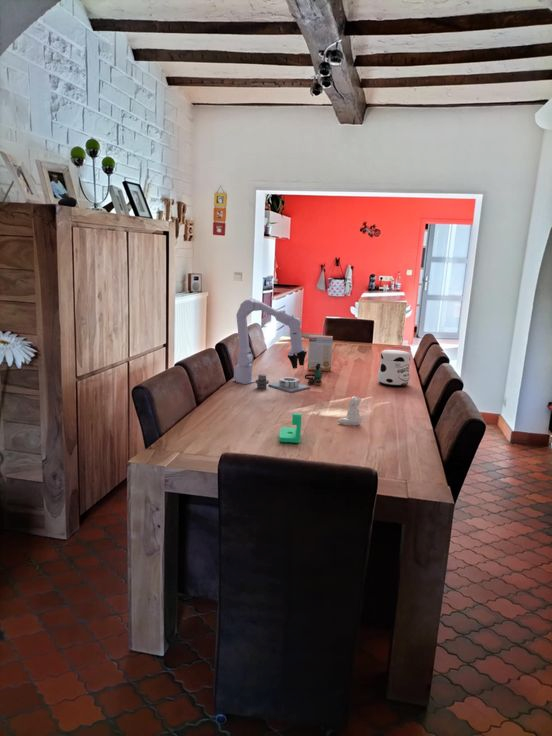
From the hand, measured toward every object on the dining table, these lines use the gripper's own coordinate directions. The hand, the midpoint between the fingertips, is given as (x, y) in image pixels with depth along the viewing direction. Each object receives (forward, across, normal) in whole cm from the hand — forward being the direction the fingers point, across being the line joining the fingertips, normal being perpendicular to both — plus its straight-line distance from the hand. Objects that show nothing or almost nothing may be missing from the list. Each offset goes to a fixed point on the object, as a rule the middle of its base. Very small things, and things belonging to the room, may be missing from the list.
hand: (298, 366), depth 279 cm
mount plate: (+10, -3, +5) cm, 12 cm away
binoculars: (+12, +12, -2) cm, 17 cm away
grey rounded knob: (+9, -14, +15) cm, 22 cm away
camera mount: (+13, -72, -32) cm, 80 cm away
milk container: (+17, +39, -37) cm, 57 cm away
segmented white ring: (+10, -3, +5) cm, 12 cm away
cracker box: (+12, +44, +10) cm, 47 cm away
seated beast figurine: (+15, -40, -44) cm, 62 cm away
